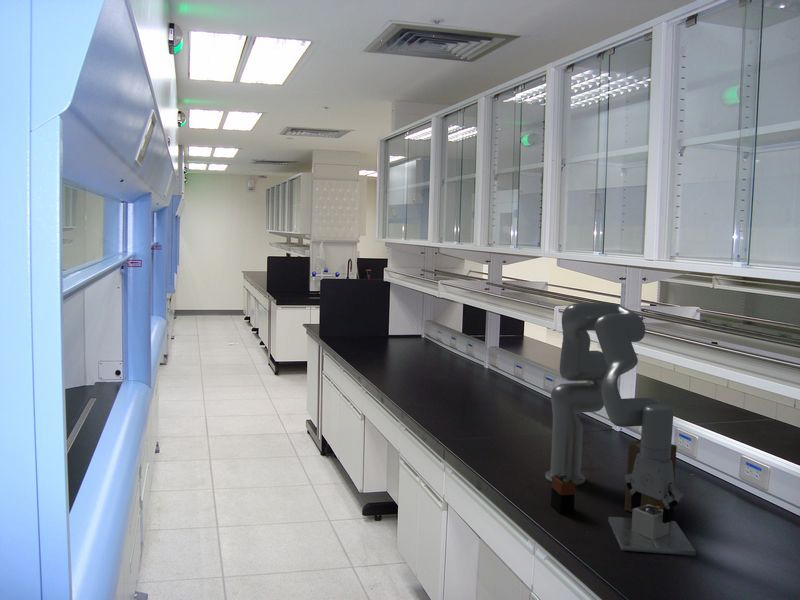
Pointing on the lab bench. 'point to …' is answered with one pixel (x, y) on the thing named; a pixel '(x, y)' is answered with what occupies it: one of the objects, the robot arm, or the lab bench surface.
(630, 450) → the wooden block
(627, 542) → the plate
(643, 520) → the gray square frame
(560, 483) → the battery
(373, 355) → the lab bench surface
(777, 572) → the lab bench surface
